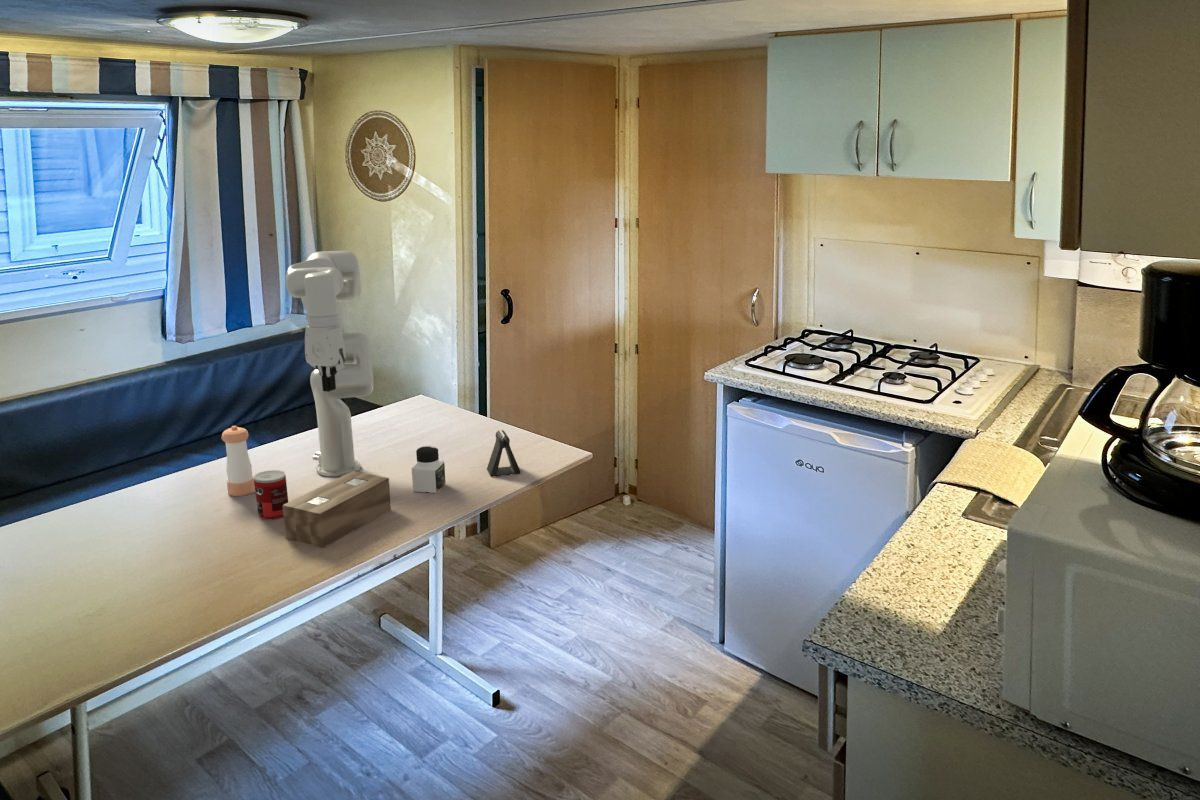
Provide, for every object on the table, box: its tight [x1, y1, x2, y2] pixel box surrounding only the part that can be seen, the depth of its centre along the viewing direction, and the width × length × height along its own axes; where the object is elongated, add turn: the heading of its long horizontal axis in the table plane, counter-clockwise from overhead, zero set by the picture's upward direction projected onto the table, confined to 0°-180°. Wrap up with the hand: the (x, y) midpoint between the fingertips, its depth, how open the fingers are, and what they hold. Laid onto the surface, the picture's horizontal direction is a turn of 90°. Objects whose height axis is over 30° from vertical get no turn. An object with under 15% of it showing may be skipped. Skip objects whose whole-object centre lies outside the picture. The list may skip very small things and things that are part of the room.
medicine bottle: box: [411, 445, 446, 494], centre depth 269 cm, size 7×7×12 cm
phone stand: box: [486, 429, 522, 478], centre depth 281 cm, size 9×6×12 cm, turn 106°
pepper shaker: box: [221, 425, 255, 497], centre depth 266 cm, size 7×7×19 cm
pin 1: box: [306, 497, 330, 506], centre depth 240 cm, size 4×4×8 cm
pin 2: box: [345, 478, 367, 486], centre depth 252 cm, size 4×4×8 cm
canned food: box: [253, 469, 289, 521], centre depth 252 cm, size 8×8×11 cm
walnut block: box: [282, 471, 392, 549], centre depth 246 cm, size 12×26×9 cm, turn 153°
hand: (329, 390), depth 251 cm, fingers closed
